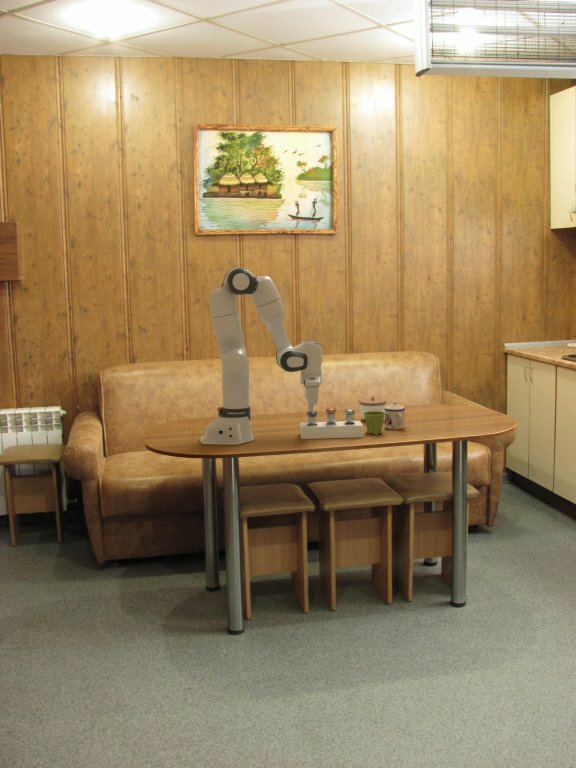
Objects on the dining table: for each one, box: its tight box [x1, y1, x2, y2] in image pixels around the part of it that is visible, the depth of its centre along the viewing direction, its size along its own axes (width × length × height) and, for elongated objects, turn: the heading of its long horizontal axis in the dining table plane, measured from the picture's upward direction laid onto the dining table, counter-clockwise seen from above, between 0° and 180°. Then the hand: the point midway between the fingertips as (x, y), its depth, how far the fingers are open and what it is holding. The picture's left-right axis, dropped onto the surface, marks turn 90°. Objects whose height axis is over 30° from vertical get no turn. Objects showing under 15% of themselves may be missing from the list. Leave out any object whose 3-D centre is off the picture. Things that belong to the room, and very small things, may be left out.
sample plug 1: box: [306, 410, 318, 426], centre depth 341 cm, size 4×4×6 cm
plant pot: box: [363, 411, 385, 435], centre depth 346 cm, size 9×9×9 cm
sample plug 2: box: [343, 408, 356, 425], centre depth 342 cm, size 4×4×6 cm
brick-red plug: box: [325, 407, 337, 424], centre depth 341 cm, size 4×4×6 cm
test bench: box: [299, 420, 364, 440], centre depth 342 cm, size 26×10×5 cm, turn 93°
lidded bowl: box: [358, 395, 387, 420], centre depth 374 cm, size 13×13×11 cm
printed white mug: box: [384, 401, 406, 430], centre depth 354 cm, size 12×9×12 cm
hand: (310, 411), depth 340 cm, fingers closed
